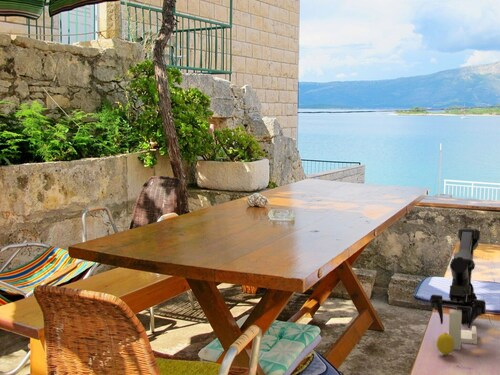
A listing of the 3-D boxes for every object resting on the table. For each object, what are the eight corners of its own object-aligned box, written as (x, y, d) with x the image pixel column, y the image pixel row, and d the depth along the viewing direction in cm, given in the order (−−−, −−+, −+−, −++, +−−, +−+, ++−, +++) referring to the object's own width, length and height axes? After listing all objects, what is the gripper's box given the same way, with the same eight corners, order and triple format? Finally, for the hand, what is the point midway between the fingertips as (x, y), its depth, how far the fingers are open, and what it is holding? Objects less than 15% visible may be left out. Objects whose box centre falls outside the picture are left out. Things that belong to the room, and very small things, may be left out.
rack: (450, 332, 225) (451, 323, 225) (476, 335, 222) (476, 326, 222) (450, 341, 217) (450, 331, 216) (476, 344, 214) (477, 334, 213)
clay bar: (448, 344, 214) (449, 309, 213) (460, 345, 213) (461, 310, 211) (448, 348, 210) (449, 312, 209) (460, 349, 209) (461, 313, 207)
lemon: (433, 353, 206) (433, 331, 205) (446, 350, 208) (446, 328, 207) (443, 359, 201) (444, 336, 200) (456, 356, 203) (457, 334, 202)
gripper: (431, 272, 217) (425, 311, 209) (486, 278, 209) (482, 318, 201) (434, 288, 225) (428, 325, 217) (487, 294, 217) (483, 333, 209)
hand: (455, 325), depth 211 cm, fingers open, 9 cm apart
